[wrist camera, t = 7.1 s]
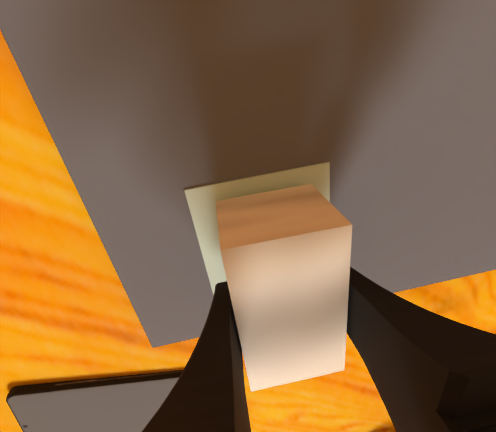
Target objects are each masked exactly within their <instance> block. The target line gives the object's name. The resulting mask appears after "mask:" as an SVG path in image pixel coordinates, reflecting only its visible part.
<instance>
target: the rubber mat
mask: <svg viewBox="0 0 496 432" xmlns="http://www.w3.org/2000/svg"><path fill="white" fill-rule="evenodd" d="M0 30H1V32H2V34H3V36H4V38H5V40H6V42H7V44H8V47H9V49H10V51H11V53H12V55H13V57H14V59H15V61H16V63H17V65H18V67H19V69H20V72H21V74H22V76H23V78H24V80H25V82H26V84H27V86H28V88H29V90H30V92H31V95H32V97H33V99H34V101H35V103H36V105H37V107H38V109H39V111H40V113H41V115H42V118H43V120H44V122H45V124H46V126H47V128H48V130H49V132H50V134H51V136H52V138H53V140H54V143H55V145H56V147H57V149H58V151H59V153H60V155H61V157H62V159H63V161H64V163H65V166H66V168H67V170H68V172H69V174H70V176H71V178H72V180H73V182H74V184H75V186H76V189H77V191H78V193H79V195H80V197H81V199H82V201H83V203H84V205H85V207H86V209H87V211H88V214H89V216H90V218H91V220H92V222H93V224H94V226H95V228H96V230H97V232H98V234H99V237H100V239H101V241H102V243H103V245H104V247H105V249H106V251H107V253H108V255H109V257H110V260H111V262H112V264H113V266H114V268H115V270H116V272H117V274H118V276H119V278H120V280H121V282H122V285H123V287H124V289H125V291H126V293H127V295H128V297H129V299H130V301H131V303H132V305H133V308H134V310H135V312H136V314H137V316H138V318H139V320H140V322H141V324H142V326H143V328H144V331H145V333H146V335H147V337H148V339H149V341H150V343H151V345H152V347H153V348H154V347H158V346H162V345H167V344H171V343H176V342H180V341H184V340H189V339H193V338H197V337H200V335H201V333H202V330H203V328H204V325H205V323H206V320H207V317H208V314H209V311H210V308H211V304H212V300H213V296H214V291H215V285H216V284H217V283H220V282H225V281H227V278H226V274H225V269H224V265H223V260H222V255H221V251H220V241H219V231H218V221H217V210H216V201H219V200H224V199H230V198H235V197H241V196H246V195H252V194H258V193H263V192H269V191H274V190H280V189H285V188H291V187H296V186H302V185H308V184H312V185H313V186H314V187H315V188H316V189H317V190H318V191H319V192H320V193H321V194H322V195H323V196H324V197H325V198H326V199H327V200H328V201H329V202H330V203H331V204H332V205H333V206H334V207H335V208H336V209H337V210H338V211H339V212H340V213H341V214H342V215H343V216H344V217H345V218H346V219H347V220H348V221H349V222H350V223H351V224H352V241H351V259H350V267H352V268H353V269H355V270H356V271H358V272H359V273H361V274H362V275H364V276H365V277H367V278H368V279H370V280H371V281H373V282H375V283H376V284H378V285H379V286H381V287H383V288H385V289H386V290H388V291H390V292H392V293H394V292H399V291H403V290H407V289H412V288H416V287H421V286H425V285H429V284H434V283H438V282H442V281H447V280H451V279H456V278H460V277H464V276H469V275H473V274H477V273H482V272H486V271H491V270H495V269H496V0H0Z"/></svg>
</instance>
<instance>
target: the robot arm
mask: <svg viewBox="0 0 496 432" xmlns="http://www.w3.org/2000/svg"><path fill="white" fill-rule="evenodd" d="M346 332H347V334H348V335H349V337H350V339H351V340H352V342H353V344H354V345H355V347H356V348H357V350H358V352H359V353H360V355H361V357H362V359H363V361H364V363H365V365H366V367H367V369H368V371H369V373H370V375H371V377H372V379H373V381H374V383H375V385H376V387H377V389H378V392H379V394H380V396H381V398H382V400H383V402H384V404H385V407H386V409H387V411H388V413H389V416H390V418H391V420H392V422H393V425H394V427H395V429H396V432H496V334H492V333H489V332H486V331H482V330H479V329H476V328H473V327H470V326H467V325H464V324H461V323H458V322H456V321H453V320H450V319H448V318H445V317H443V316H440V315H438V314H435V313H433V312H430V311H428V310H426V309H424V308H421V307H419V306H417V305H415V304H413V303H411V302H409V301H407V300H405V299H403V298H401V297H399V296H397V295H395V294H393V293H392V292H390V291H388V290H386V289H385V288H383V287H381V286H379V285H378V284H376V283H375V282H373V281H371V280H370V279H368V278H367V277H365V276H364V275H362V274H361V273H359V272H358V271H356V270H355V269H353V268H352V267H350V277H349V295H348V313H347V331H346ZM142 432H251V428H250V421H249V415H248V408H247V402H246V395H245V387H244V376H243V360H242V347H241V343H240V338H239V334H238V329H237V324H236V320H235V315H234V311H233V306H232V301H231V297H230V292H229V288H228V283H227V281H225V282H220V283H217V284H216V285H215V291H214V296H213V300H212V304H211V308H210V311H209V314H208V317H207V320H206V323H205V325H204V328H203V330H202V333H201V335H200V338H199V340H198V342H197V345H196V347H195V349H194V351H193V353H192V355H191V357H190V359H189V361H188V363H187V365H186V366H185V368H184V370H183V372H182V374H181V375H180V377H179V379H178V380H177V382H176V384H175V385H174V387H173V388H172V390H171V391H170V393H169V394H168V396H167V398H166V399H165V401H164V402H163V404H162V405H161V406H160V408H159V409H158V411H157V412H156V413H155V415H154V416H153V417H152V419H151V420H150V421H149V423H148V424H147V425H146V427H145V428H144V429H143V431H142Z"/></svg>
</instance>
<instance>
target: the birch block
mask: <svg viewBox="0 0 496 432" xmlns="http://www.w3.org/2000/svg"><path fill="white" fill-rule="evenodd" d="M216 210H217V221H218V231H219V241H220V251H221V255H222V260H223V265H224V269H225V274H226V278H227V283H228V288H229V292H230V297H231V301H232V306H233V311H234V315H235V320H236V324H237V329H238V334H239V338H240V343H241V347H242V352H243V357H244V361H245V366H246V370H247V375H248V380H249V384H250V389H251V392H252V391H256V390H260V389H265V388H269V387H273V386H278V385H282V384H287V383H291V382H295V381H300V380H304V379H308V378H313V377H317V376H321V375H326V374H330V373H334V372H339V371H343V370H344V367H345V349H346V331H347V313H348V295H349V277H350V259H351V241H352V224H351V223H350V222H349V221H348V220H347V219H346V218H345V217H344V216H343V215H342V214H341V213H340V212H339V211H338V210H337V209H336V208H335V207H334V206H333V205H332V204H331V203H330V202H329V201H328V200H327V199H326V198H325V197H324V196H323V195H322V194H321V193H320V192H319V191H318V190H317V189H316V188H315V187H314V186H313V185H312V184H308V185H302V186H296V187H291V188H285V189H280V190H274V191H269V192H263V193H258V194H252V195H246V196H241V197H235V198H230V199H224V200H219V201H216Z"/></svg>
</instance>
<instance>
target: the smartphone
mask: <svg viewBox="0 0 496 432" xmlns="http://www.w3.org/2000/svg"><path fill="white" fill-rule="evenodd" d="M182 372H183V370H181V371H171V372H160V373H150V374H139V375H129V376H119V377H108V378H98V379H85V380H75V381H64V382H54V383H44V384H33V385H23V386H16V387H13V388H12V389H11V390H10V392H9V393H8V395H7V398H6V401H7V403H8V405H9V407H10V409H11V410H12V412H13V414H14V416H15V418H16V419H17V421H18V423H19V425H20V427H21V428H22V430H23V432H142V431H143V429H144V428H145V427H146V425H147V424H148V423H149V421H150V420H151V419H152V417H153V416H154V415H155V413H156V412H157V411H158V409H159V408H160V406H161V405H162V404H163V402H164V401H165V399H166V398H167V396H168V394H169V393H170V391H171V390H172V388H173V387H174V385H175V384H176V382H177V380H178V379H179V377H180V375H181V374H182Z"/></svg>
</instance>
